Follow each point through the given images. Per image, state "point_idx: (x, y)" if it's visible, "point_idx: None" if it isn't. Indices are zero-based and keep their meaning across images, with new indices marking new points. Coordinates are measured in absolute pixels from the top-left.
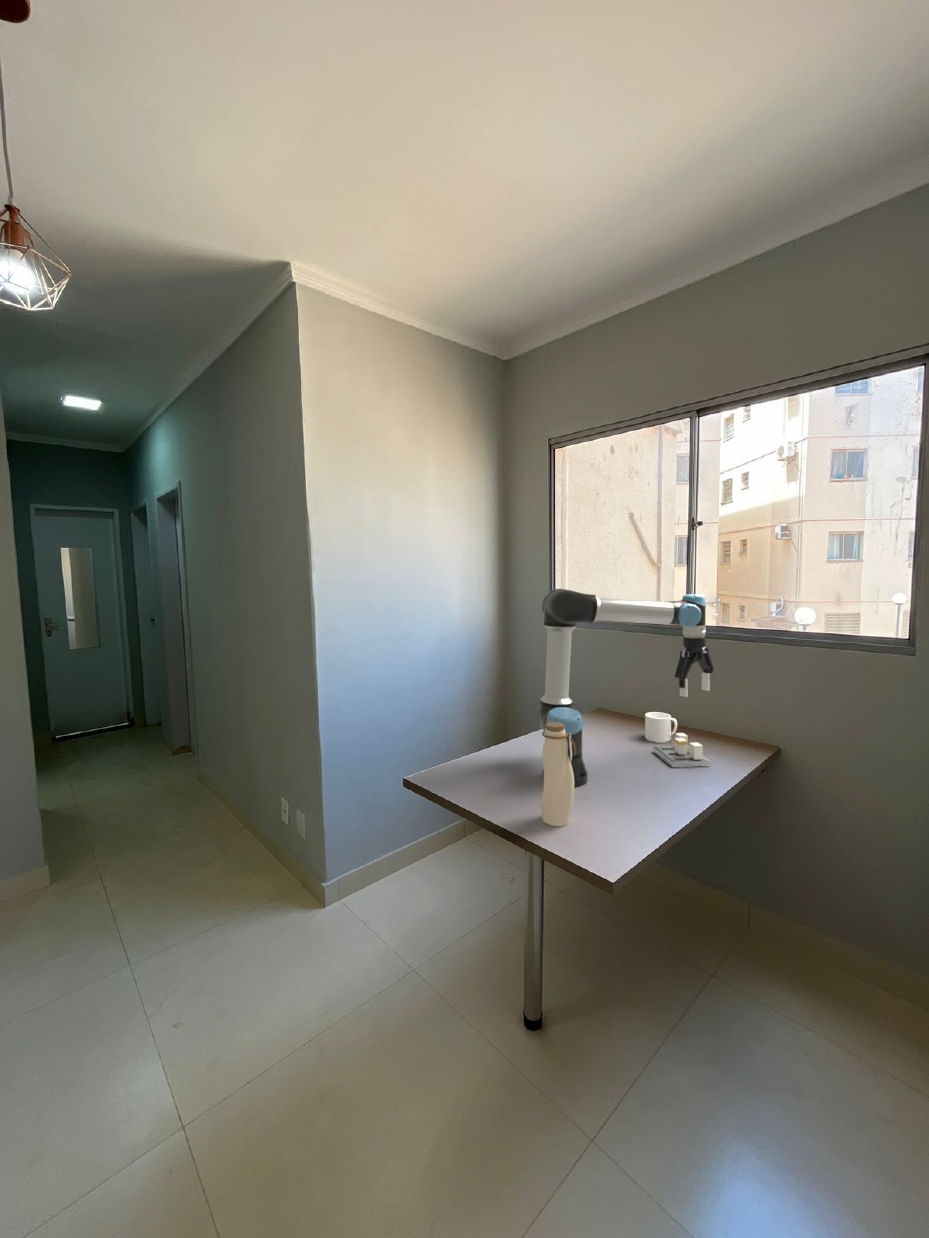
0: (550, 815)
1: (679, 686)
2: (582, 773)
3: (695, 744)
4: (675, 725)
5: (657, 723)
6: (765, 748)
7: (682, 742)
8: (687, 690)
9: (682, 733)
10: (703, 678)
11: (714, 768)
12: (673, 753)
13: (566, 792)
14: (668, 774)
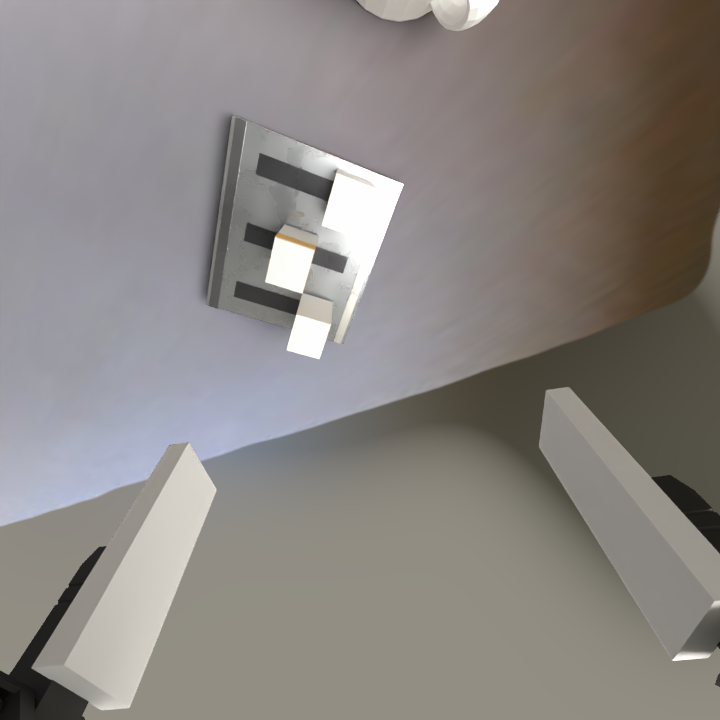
0: None
1: (87, 561)
2: None
3: (303, 338)
4: (461, 26)
5: None
6: (652, 297)
7: (281, 285)
8: (192, 545)
9: (367, 195)
10: (628, 519)
11: (340, 351)
12: (268, 237)
13: None
14: (168, 331)
